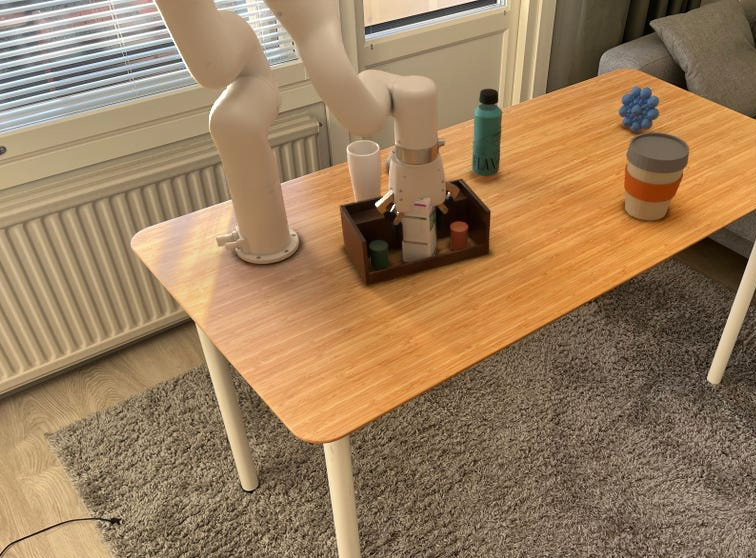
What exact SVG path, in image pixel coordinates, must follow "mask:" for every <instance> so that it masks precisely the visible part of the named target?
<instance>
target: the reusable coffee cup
mask: <svg viewBox="0 0 756 558" xmlns="http://www.w3.org/2000/svg"><path fill="white" fill-rule="evenodd" d="M625 156H626V159H627V163H626V164H625V168H624V182H623V183H624V184H623V187H624V190H625V198H624V199H625V201H624V210H625V212H626V213H627V214H628V215H630V216H631V217H633V218H635V219H637V220H642V221H657V220H661V219H662V218H664V217H665V216H666V214H667V212H668V209H669V207H670V204H671V202H672V199H673V198H674V197H676V195H677V192H678V190H679V187H680V186H681V185H680V184H681V182H682V180H683V177H684V170H685V169H686V167H687V166H688V163H689V157H690V147H689V145H688V143H687V142H686V141H685V140H683V139H682V138H680V137H678V136H676V135H672V134H669V133H664V132H663V133H662V132H655V131H654V132H653V131H652V132H642V133H640V134H639V133H638V134H637V135H634V136H633V137H632V138H631V140H630V141H629V145H628V148H627V151H626V155H625Z"/></svg>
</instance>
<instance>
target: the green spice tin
mask: <svg viewBox="0 0 756 558" xmlns="http://www.w3.org/2000/svg"><path fill="white" fill-rule="evenodd" d="M369 251H370V256H369V259H370V268H371V270H372V271H373V272H374V271H378V270H382V269H385V268H389V267H390V255H389V251H388V244H387V243H386V242H385V241H382V240H376V241H373V242H371V243H370V244H369Z"/></svg>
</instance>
